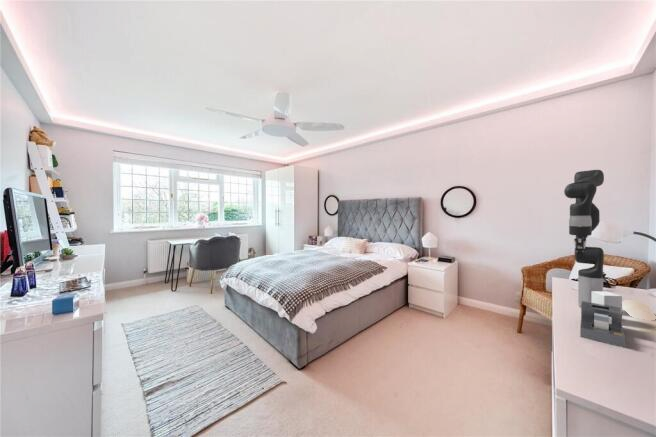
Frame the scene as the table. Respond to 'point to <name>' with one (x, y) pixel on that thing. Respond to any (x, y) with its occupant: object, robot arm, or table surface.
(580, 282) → the robot arm
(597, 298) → the supplement box
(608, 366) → the table surface
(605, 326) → the plug
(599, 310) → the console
